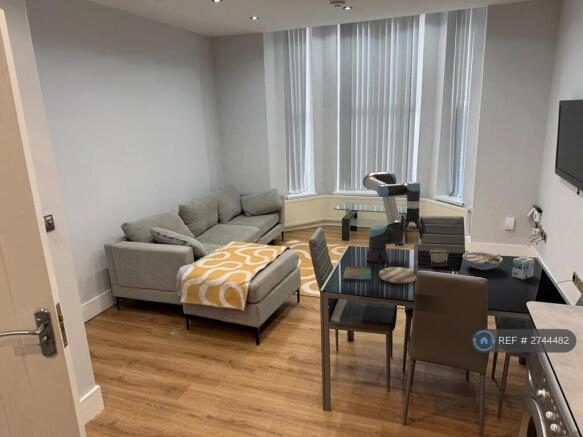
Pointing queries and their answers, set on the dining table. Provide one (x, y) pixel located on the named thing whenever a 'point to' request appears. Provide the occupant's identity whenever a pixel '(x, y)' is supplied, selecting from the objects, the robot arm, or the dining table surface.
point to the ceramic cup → (411, 235)
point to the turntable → (400, 272)
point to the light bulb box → (523, 267)
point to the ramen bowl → (482, 260)
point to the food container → (439, 257)
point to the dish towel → (357, 274)
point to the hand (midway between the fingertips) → (412, 242)
